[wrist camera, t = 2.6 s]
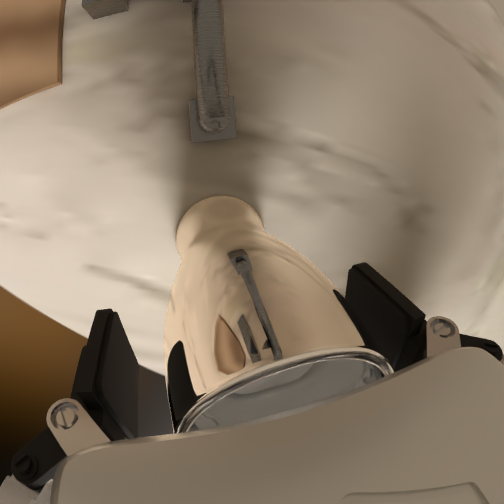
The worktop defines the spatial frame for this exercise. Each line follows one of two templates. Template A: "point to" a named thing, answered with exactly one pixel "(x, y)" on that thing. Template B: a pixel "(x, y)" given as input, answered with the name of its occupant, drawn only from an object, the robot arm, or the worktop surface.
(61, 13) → the walnut board
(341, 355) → the beer glass
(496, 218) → the worktop surface
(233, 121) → the grey metal bent rod
